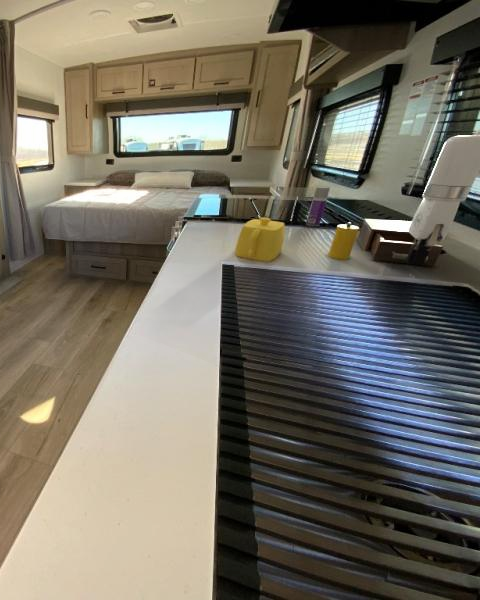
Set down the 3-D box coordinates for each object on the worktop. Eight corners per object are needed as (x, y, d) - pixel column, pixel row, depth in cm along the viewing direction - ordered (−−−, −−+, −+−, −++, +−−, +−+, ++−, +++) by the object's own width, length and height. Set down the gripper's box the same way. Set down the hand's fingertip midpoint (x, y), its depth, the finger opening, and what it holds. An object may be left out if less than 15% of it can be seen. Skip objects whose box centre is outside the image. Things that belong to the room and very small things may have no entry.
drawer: (438, 271, 89) (449, 251, 86) (375, 264, 95) (383, 245, 93) (419, 251, 103) (427, 233, 100) (365, 246, 109) (371, 229, 106)
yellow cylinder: (346, 256, 104) (359, 221, 99) (349, 262, 100) (362, 225, 95) (327, 254, 106) (338, 219, 101) (328, 259, 102) (339, 223, 97)
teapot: (248, 242, 120) (255, 209, 115) (286, 248, 113) (295, 213, 107) (228, 257, 107) (234, 221, 102) (270, 265, 100) (279, 227, 94)
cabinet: (424, 258, 100) (435, 233, 97) (363, 252, 107) (372, 229, 103) (410, 244, 111) (420, 222, 108) (356, 239, 118) (364, 218, 115)
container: (321, 226, 135) (333, 187, 128) (310, 226, 135) (320, 188, 129) (314, 223, 139) (325, 186, 133) (303, 223, 140) (313, 186, 133)
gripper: (416, 186, 87) (389, 252, 96) (435, 196, 76) (402, 270, 84) (455, 188, 84) (423, 256, 92) (481, 198, 73) (442, 275, 81)
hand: (413, 263), depth 88 cm, fingers closed
